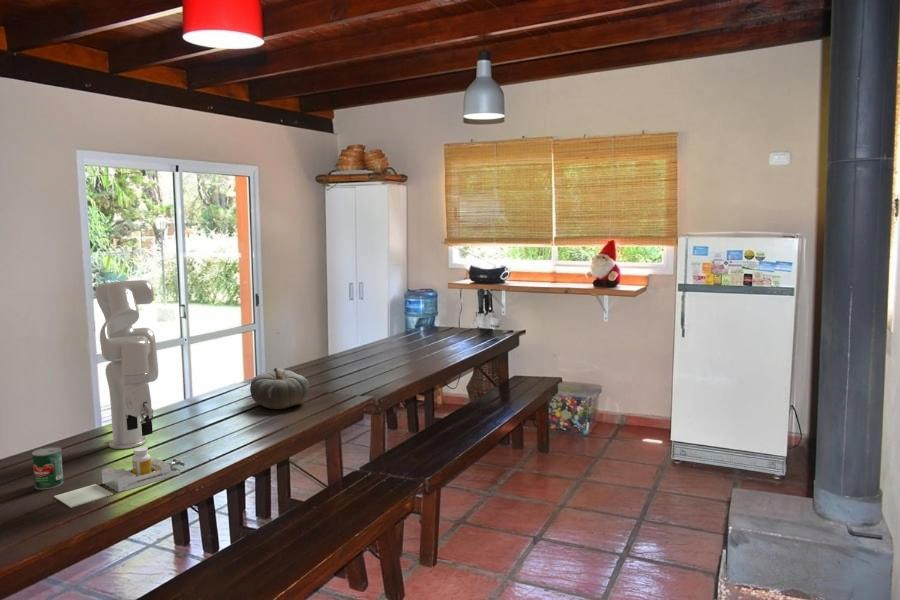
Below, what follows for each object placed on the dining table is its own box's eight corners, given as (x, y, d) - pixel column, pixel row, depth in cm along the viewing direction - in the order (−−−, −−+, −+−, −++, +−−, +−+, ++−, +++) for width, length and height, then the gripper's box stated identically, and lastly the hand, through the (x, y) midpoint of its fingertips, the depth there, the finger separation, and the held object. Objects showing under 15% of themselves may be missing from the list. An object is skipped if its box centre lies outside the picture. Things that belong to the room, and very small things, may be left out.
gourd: (277, 389, 323) (278, 354, 318) (320, 403, 313) (321, 368, 308) (239, 407, 301) (239, 371, 296) (284, 423, 291) (285, 386, 286)
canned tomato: (32, 491, 211) (29, 456, 209) (36, 482, 218) (33, 448, 216) (62, 487, 214) (59, 452, 212) (65, 478, 221) (62, 445, 220)
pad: (54, 497, 206) (54, 496, 206) (95, 485, 215) (95, 483, 215) (70, 507, 198) (70, 506, 198) (113, 494, 207) (113, 493, 207)
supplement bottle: (154, 475, 223) (152, 446, 222) (147, 481, 218) (145, 451, 216) (137, 475, 223) (135, 446, 222) (130, 481, 217) (128, 452, 216)
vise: (102, 483, 216) (101, 469, 216) (171, 463, 234) (170, 450, 233) (119, 492, 209) (118, 478, 208) (189, 471, 226) (188, 457, 226)
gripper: (111, 377, 219) (115, 430, 221) (137, 384, 208) (141, 439, 209) (135, 373, 225) (138, 424, 226) (161, 380, 213) (164, 433, 215)
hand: (139, 431), depth 218 cm, fingers open, 9 cm apart
